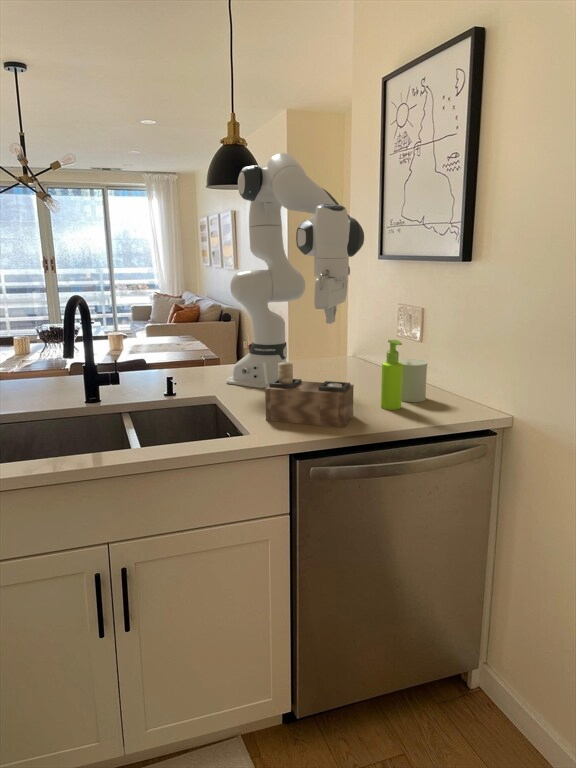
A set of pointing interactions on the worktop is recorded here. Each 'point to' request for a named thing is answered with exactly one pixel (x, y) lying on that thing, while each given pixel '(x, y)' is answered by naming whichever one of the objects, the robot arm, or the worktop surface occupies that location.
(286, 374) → the maple peg
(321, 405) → the walnut block
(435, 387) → the worktop surface
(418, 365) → the can
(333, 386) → the steel peg
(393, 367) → the soap dispenser
